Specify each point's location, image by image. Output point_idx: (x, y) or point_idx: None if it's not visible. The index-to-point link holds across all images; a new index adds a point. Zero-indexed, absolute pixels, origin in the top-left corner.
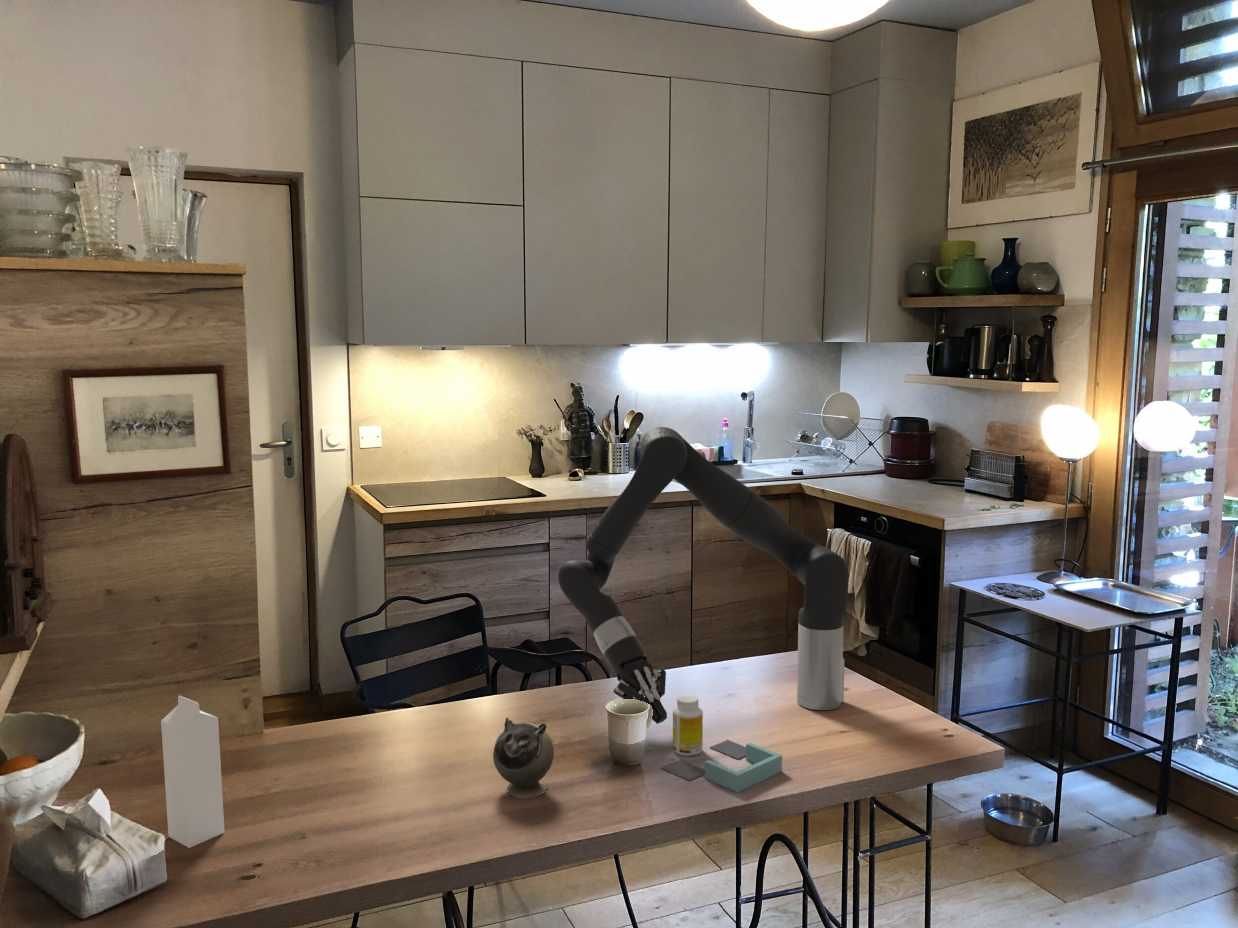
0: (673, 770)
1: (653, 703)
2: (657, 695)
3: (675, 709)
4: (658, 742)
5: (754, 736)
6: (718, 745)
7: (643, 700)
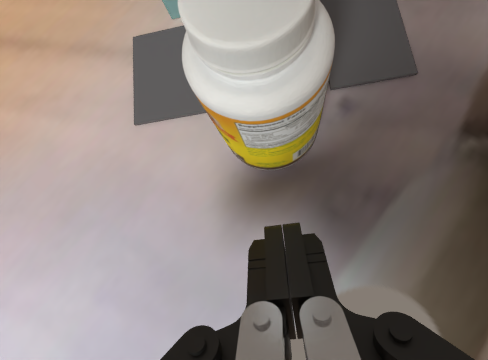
0: (393, 40)
1: (312, 289)
2: (258, 323)
3: (317, 56)
4: (309, 232)
5: (66, 111)
6: (180, 107)
7: (395, 316)
